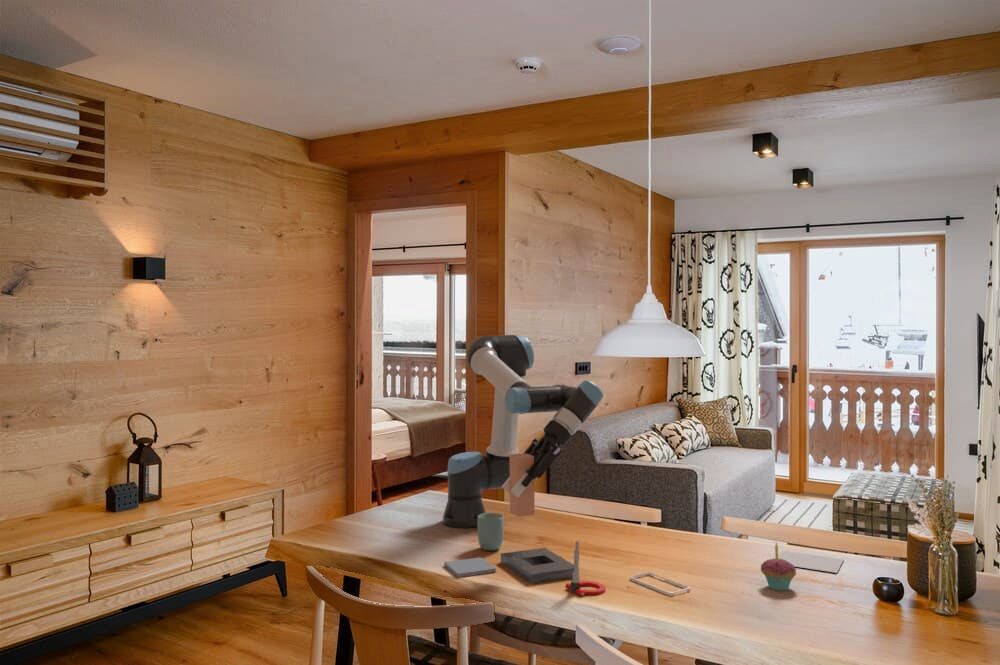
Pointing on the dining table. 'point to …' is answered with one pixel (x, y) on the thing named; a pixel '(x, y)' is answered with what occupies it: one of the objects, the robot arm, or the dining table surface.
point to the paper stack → (811, 561)
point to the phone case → (657, 587)
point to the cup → (490, 530)
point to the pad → (469, 567)
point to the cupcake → (778, 572)
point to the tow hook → (576, 583)
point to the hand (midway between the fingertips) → (509, 492)
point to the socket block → (538, 565)
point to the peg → (526, 499)
